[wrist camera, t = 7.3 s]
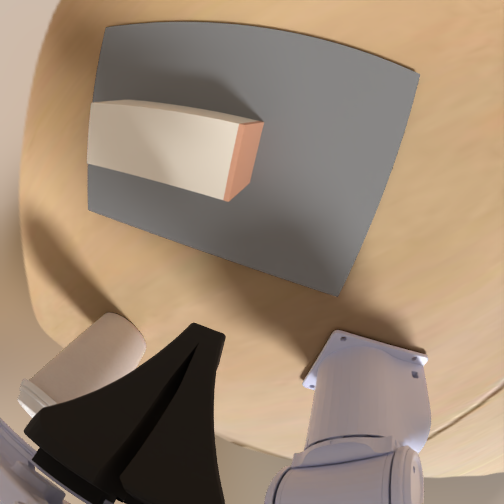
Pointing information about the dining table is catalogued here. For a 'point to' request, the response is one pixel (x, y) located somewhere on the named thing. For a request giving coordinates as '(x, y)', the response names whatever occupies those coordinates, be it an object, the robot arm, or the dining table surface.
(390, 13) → the dining table surface
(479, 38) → the dining table surface
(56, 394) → the coffee cup
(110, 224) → the dining table surface
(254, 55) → the mat
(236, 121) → the block
